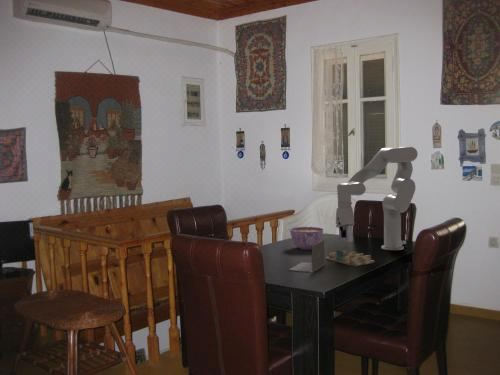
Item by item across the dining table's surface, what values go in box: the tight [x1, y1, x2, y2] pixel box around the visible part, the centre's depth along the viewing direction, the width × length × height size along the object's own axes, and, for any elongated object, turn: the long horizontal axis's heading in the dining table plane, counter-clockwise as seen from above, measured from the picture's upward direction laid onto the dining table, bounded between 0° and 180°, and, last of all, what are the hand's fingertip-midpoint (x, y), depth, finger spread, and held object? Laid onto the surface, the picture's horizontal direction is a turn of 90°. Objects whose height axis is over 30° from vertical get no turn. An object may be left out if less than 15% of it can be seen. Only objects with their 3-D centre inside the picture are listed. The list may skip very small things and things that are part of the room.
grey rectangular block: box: [338, 225, 354, 243], centre depth 289 cm, size 3×8×9 cm, turn 32°
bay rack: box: [325, 249, 375, 267], centre depth 268 cm, size 14×22×6 cm, turn 32°
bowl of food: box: [289, 226, 324, 251], centre depth 303 cm, size 20×20×12 cm
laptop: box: [288, 240, 325, 274], centre depth 254 cm, size 18×12×13 cm
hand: (345, 236), depth 290 cm, fingers closed on grey rectangular block, 3 cm apart
